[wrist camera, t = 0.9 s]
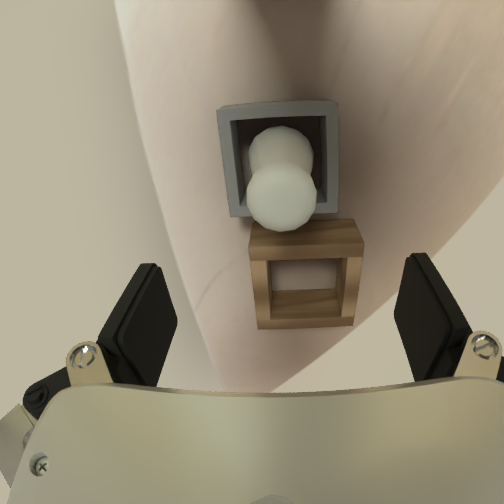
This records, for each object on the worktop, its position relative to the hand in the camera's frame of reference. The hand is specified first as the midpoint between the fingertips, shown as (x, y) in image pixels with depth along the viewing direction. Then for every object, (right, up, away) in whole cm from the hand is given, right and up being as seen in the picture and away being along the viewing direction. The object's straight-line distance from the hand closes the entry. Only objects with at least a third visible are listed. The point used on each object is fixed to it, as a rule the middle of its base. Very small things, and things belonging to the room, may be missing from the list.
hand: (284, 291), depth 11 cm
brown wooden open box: (+5, 0, +24) cm, 24 cm away
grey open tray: (+2, +11, +17) cm, 21 cm away
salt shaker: (+2, +11, +17) cm, 21 cm away
